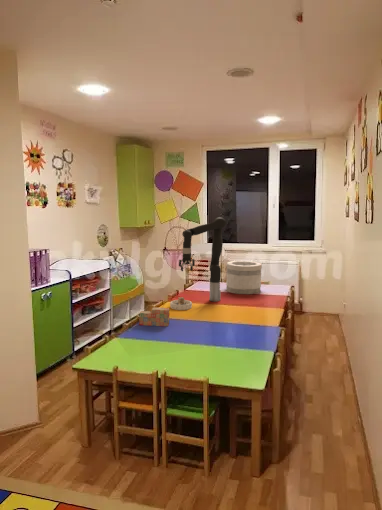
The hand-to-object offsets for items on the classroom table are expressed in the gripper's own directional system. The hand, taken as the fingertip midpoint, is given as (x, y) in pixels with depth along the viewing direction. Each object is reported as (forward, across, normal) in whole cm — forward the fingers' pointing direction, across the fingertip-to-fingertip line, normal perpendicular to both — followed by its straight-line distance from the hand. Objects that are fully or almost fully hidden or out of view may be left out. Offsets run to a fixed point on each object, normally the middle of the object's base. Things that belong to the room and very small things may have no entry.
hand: (186, 270), depth 372 cm
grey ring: (+28, +11, +15) cm, 34 cm away
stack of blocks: (+28, +47, +53) cm, 76 cm away
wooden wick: (+27, +11, +15) cm, 33 cm away
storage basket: (+28, -72, -24) cm, 81 cm away
